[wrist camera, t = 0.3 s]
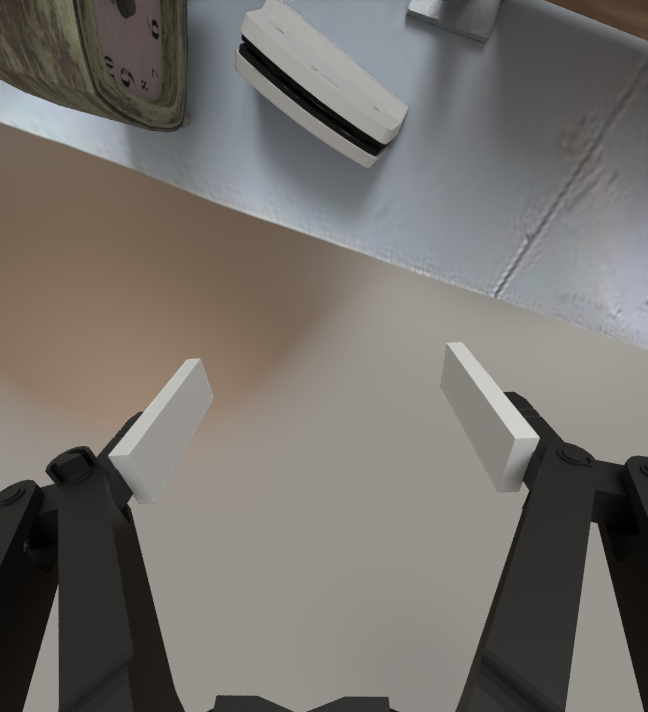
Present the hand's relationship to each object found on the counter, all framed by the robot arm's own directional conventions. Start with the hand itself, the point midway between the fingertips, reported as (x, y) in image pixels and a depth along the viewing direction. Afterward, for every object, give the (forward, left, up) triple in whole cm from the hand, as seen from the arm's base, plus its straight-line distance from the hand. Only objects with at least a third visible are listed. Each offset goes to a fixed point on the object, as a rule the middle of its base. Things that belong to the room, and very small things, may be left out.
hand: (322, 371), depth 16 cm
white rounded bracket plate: (-17, -1, -28) cm, 33 cm away
